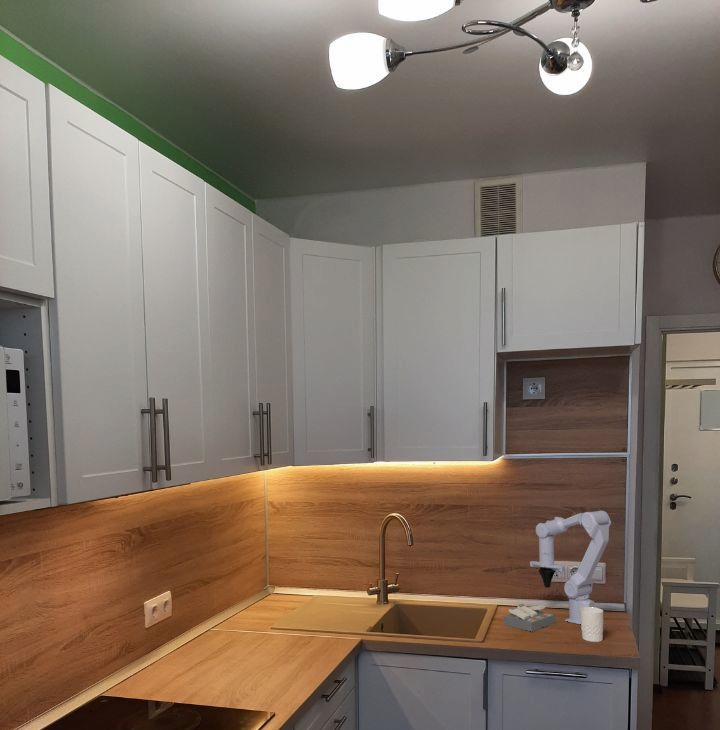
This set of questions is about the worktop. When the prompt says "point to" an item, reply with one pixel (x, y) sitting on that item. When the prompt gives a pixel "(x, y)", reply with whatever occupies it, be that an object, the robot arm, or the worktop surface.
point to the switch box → (530, 621)
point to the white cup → (591, 624)
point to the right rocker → (537, 607)
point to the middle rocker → (527, 610)
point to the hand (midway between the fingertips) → (547, 587)
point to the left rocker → (518, 613)
